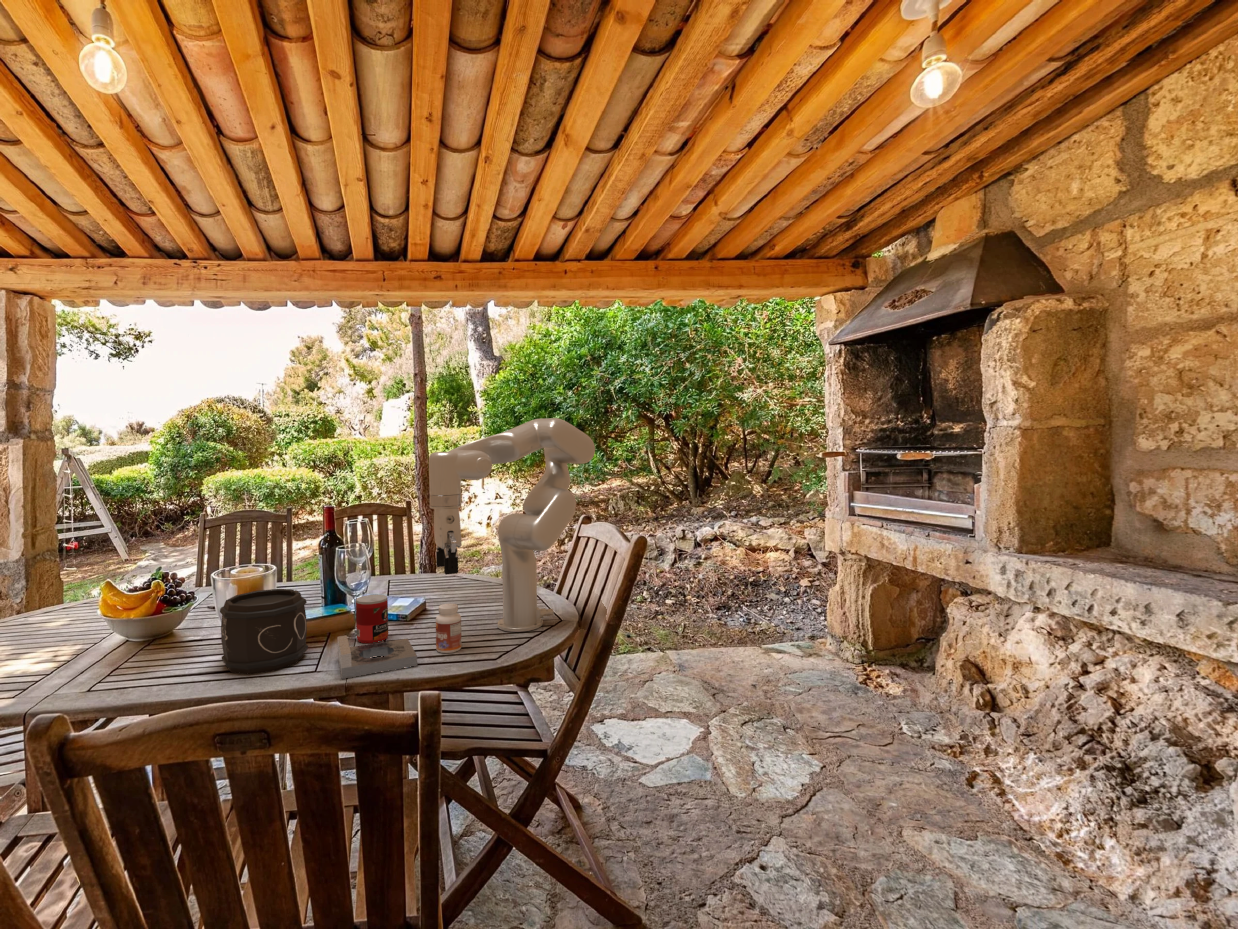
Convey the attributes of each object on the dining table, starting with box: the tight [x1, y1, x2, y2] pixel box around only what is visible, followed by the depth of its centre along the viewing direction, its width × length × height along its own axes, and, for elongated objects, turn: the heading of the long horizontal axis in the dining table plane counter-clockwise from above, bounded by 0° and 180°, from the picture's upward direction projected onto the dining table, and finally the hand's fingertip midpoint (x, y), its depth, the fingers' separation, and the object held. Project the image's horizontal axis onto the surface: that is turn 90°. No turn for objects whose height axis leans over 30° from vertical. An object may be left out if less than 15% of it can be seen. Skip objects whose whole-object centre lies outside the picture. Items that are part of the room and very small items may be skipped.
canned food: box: [355, 594, 389, 644], centre depth 161 cm, size 8×8×11 cm
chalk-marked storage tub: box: [219, 588, 309, 675], centre depth 146 cm, size 18×18×16 cm
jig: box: [337, 635, 418, 680], centre depth 144 cm, size 16×14×6 cm
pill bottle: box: [435, 603, 463, 654], centre depth 153 cm, size 6×6×11 cm
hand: (447, 569), depth 152 cm, fingers open, 9 cm apart
